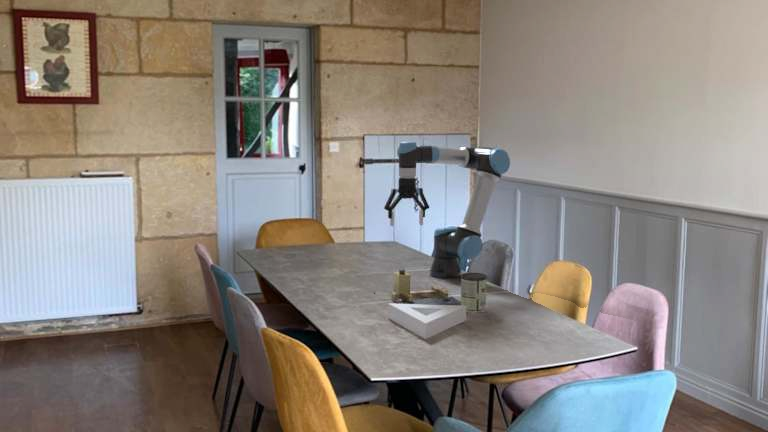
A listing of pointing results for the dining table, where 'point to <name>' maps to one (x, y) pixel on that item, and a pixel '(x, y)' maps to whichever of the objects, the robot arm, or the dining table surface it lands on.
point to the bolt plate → (431, 301)
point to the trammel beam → (422, 294)
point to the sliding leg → (402, 283)
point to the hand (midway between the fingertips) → (406, 225)
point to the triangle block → (426, 317)
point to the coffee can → (473, 292)
